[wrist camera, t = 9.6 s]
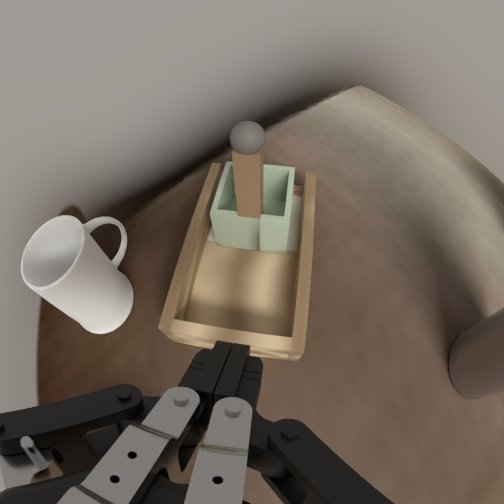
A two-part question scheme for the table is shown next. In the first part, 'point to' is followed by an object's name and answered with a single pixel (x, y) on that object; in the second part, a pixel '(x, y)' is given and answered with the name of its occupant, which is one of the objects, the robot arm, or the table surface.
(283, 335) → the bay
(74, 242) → the mug
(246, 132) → the box
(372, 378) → the table surface
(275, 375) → the table surface
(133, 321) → the table surface
